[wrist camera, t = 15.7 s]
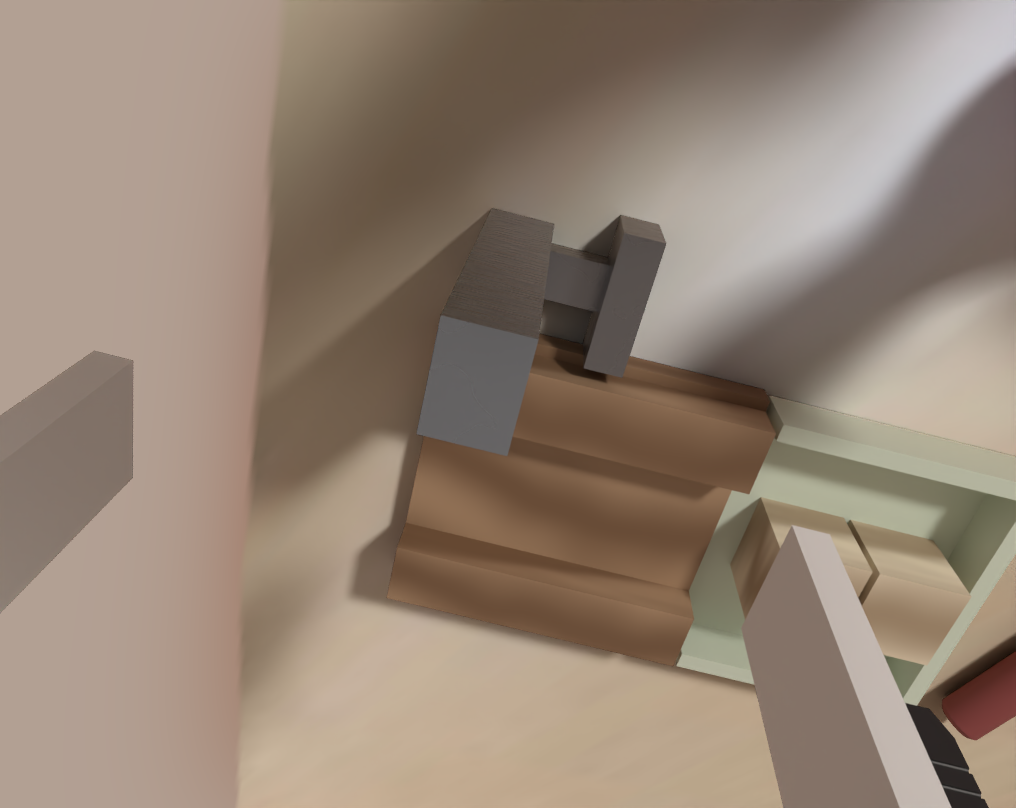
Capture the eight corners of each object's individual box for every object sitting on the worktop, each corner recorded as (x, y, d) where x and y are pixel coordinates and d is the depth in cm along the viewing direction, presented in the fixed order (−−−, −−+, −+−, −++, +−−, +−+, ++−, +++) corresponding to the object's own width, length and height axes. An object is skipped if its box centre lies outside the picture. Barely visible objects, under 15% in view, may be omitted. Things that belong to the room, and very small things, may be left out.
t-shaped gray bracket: (497, 183, 32) (448, 279, 20) (659, 224, 32) (704, 342, 20) (468, 312, 34) (410, 463, 22) (619, 350, 34) (638, 519, 23)
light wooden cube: (850, 519, 36) (879, 574, 33) (933, 540, 37) (971, 596, 33) (815, 585, 38) (840, 644, 35) (894, 605, 38) (927, 665, 35)
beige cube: (760, 497, 36) (780, 549, 33) (843, 517, 36) (872, 571, 33) (729, 564, 38) (745, 621, 34) (809, 584, 38) (833, 642, 35)
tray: (769, 395, 34) (783, 424, 32) (1021, 458, 35) (1056, 491, 32) (670, 626, 41) (676, 666, 38) (886, 678, 41) (906, 721, 38)
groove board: (452, 311, 34) (440, 338, 31) (764, 389, 34) (780, 422, 32) (399, 564, 40) (384, 605, 37) (663, 627, 41) (670, 673, 38)
